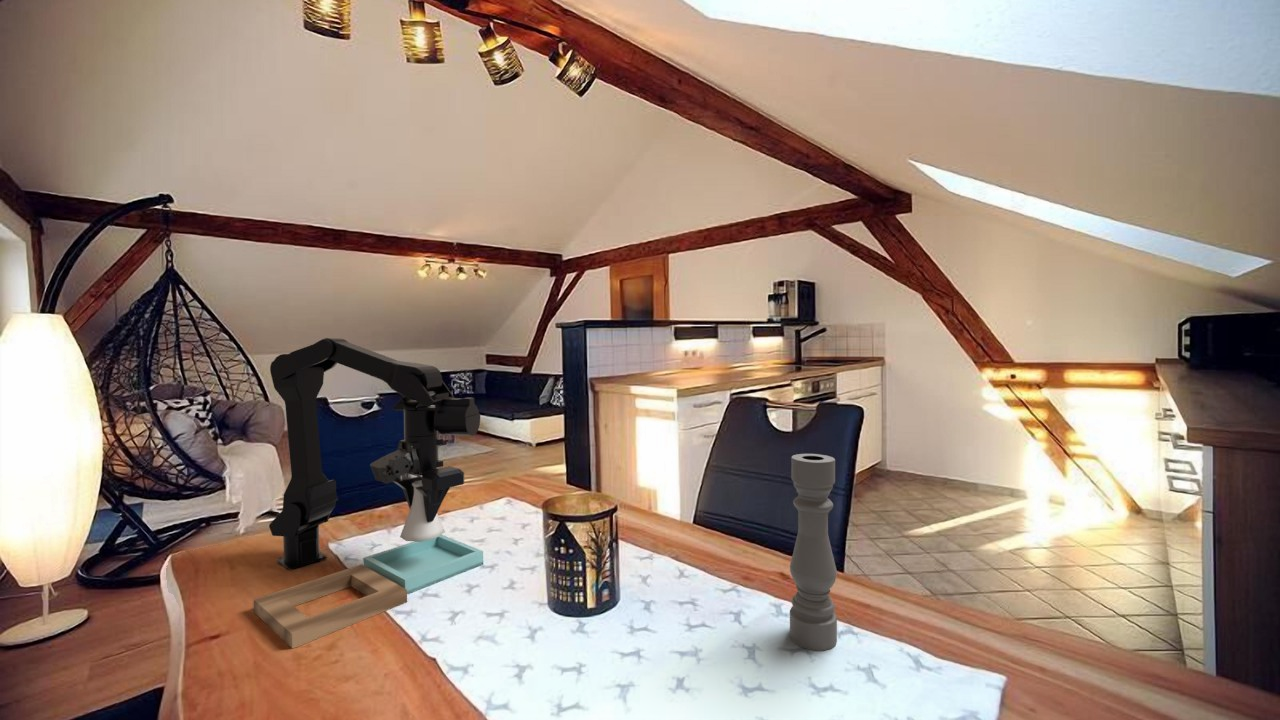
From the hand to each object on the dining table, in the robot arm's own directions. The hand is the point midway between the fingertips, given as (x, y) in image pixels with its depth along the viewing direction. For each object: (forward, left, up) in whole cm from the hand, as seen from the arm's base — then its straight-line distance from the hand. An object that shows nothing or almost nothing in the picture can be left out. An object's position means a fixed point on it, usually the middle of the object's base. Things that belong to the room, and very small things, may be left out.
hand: (422, 518), depth 95 cm
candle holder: (+65, +21, -9) cm, 69 cm away
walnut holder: (+2, -16, -9) cm, 19 cm away
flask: (0, 0, -3) cm, 3 cm away
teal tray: (0, 0, -9) cm, 9 cm away
